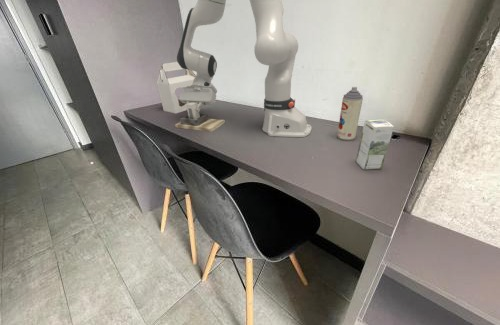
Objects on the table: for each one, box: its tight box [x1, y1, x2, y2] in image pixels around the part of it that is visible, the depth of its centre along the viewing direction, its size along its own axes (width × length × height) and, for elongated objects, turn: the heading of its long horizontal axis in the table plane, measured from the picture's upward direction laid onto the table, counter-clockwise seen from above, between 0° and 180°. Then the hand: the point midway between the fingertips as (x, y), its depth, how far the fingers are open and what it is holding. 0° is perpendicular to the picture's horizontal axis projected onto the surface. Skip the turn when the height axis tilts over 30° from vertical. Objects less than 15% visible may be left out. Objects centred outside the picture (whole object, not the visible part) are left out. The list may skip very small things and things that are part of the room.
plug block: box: [186, 102, 200, 119], centre depth 112 cm, size 4×4×9 cm
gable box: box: [156, 61, 199, 115], centre depth 139 cm, size 22×13×28 cm, turn 142°
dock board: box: [174, 112, 226, 133], centre depth 113 cm, size 22×13×4 cm, turn 66°
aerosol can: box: [336, 86, 364, 142], centre depth 85 cm, size 7×7×20 cm
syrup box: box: [355, 119, 395, 171], centre depth 67 cm, size 6×6×14 cm
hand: (192, 110), depth 111 cm, fingers closed on plug block, 4 cm apart
